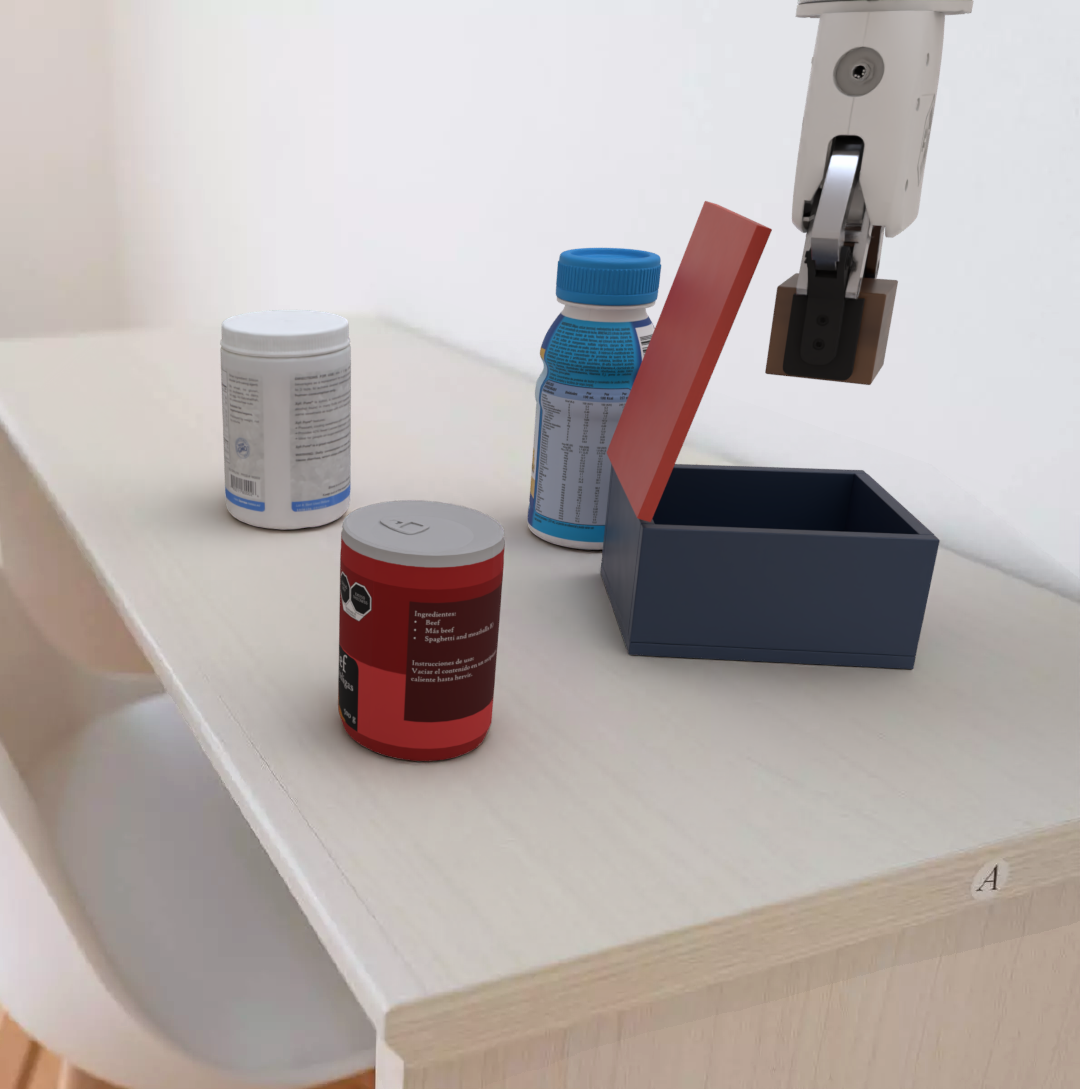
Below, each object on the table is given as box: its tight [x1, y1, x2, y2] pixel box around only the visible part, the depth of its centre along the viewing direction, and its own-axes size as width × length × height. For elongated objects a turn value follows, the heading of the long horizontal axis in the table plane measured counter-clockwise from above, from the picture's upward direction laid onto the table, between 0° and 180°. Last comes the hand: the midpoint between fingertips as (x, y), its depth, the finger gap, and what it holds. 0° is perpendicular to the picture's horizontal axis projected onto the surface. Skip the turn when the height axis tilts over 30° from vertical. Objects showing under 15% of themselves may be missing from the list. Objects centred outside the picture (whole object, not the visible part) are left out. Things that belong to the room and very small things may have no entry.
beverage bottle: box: [526, 247, 662, 551], centre depth 86 cm, size 8×8×20 cm
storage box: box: [599, 463, 941, 670], centre depth 74 cm, size 16×13×8 cm
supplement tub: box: [219, 309, 352, 531], centre depth 91 cm, size 10×10×15 cm
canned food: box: [337, 499, 506, 762], centre depth 61 cm, size 8×8×11 cm
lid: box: [607, 200, 773, 522], centre depth 71 cm, size 16×13×1 cm
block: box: [764, 272, 899, 386], centre depth 63 cm, size 5×5×4 cm
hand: (826, 361), depth 64 cm, fingers closed on block, 5 cm apart
